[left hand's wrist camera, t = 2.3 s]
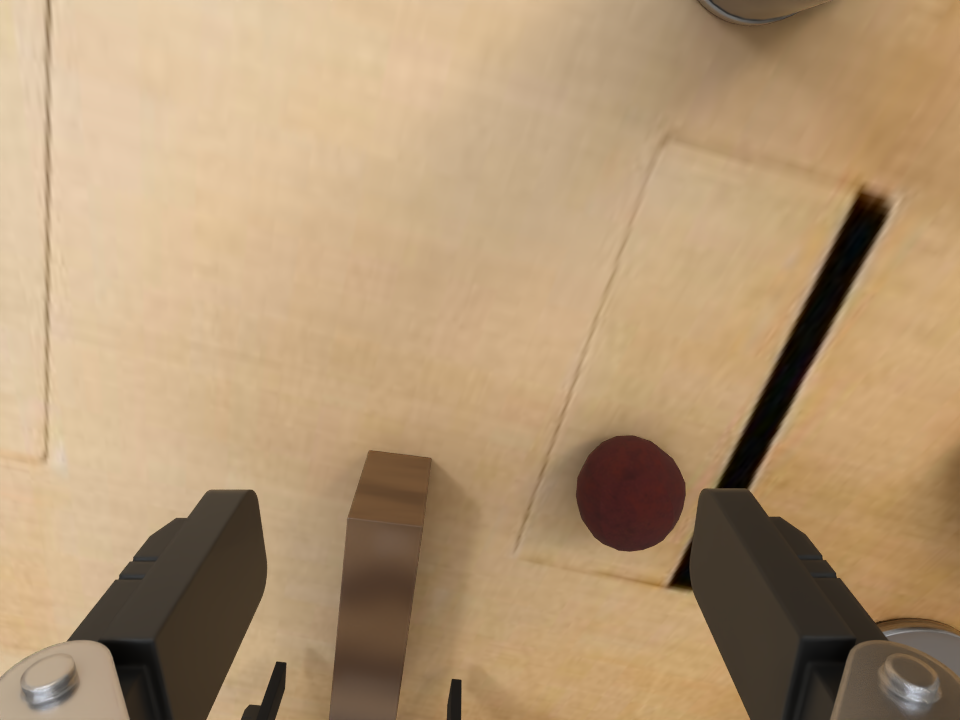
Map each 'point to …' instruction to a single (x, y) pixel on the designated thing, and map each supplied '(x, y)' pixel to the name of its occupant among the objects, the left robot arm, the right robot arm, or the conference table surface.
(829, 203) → the conference table surface
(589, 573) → the conference table surface
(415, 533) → the bar
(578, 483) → the dark red rounded ball
